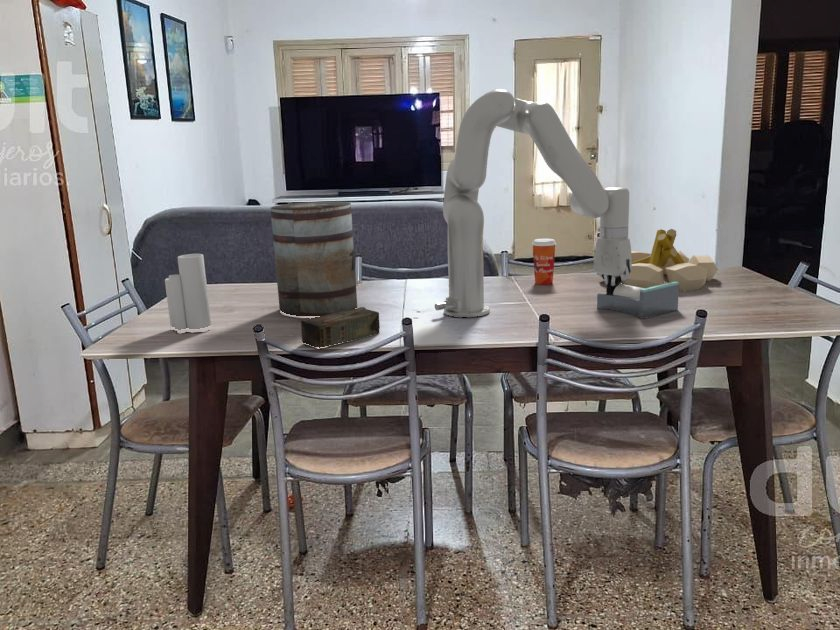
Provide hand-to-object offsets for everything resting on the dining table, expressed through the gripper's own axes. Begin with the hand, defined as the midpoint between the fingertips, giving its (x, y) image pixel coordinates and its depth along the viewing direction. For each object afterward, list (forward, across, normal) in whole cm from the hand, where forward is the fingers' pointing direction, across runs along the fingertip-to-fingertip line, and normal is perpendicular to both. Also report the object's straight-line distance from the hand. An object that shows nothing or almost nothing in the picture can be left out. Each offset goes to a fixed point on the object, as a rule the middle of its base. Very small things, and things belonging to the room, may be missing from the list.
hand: (612, 298), depth 201 cm
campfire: (+2, -12, +34) cm, 36 cm away
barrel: (+2, -53, -65) cm, 84 cm away
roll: (+2, +8, 0) cm, 8 cm away
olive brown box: (+2, -20, -75) cm, 77 cm away
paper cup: (+2, -34, +6) cm, 34 cm away
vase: (+2, -56, -102) cm, 116 cm away
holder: (+2, +8, 0) cm, 9 cm away
